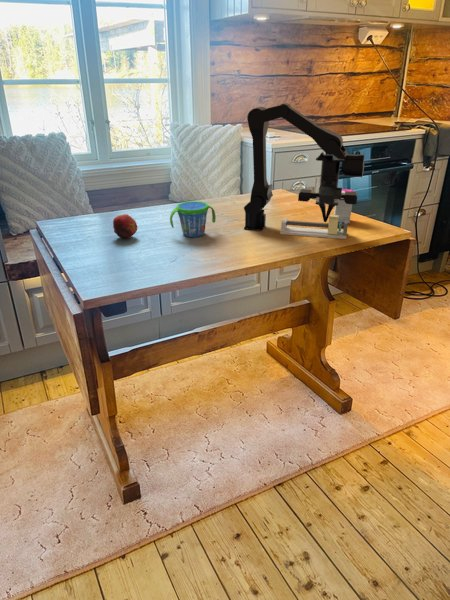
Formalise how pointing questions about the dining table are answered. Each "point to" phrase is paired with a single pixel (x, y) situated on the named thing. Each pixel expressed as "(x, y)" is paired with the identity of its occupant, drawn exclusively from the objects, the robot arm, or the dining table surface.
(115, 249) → the dining table surface
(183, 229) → the snack cup
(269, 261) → the dining table surface
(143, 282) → the dining table surface
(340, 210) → the supplement box
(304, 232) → the linear slide rail
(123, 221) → the fruit
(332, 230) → the sleeve
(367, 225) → the dining table surface
